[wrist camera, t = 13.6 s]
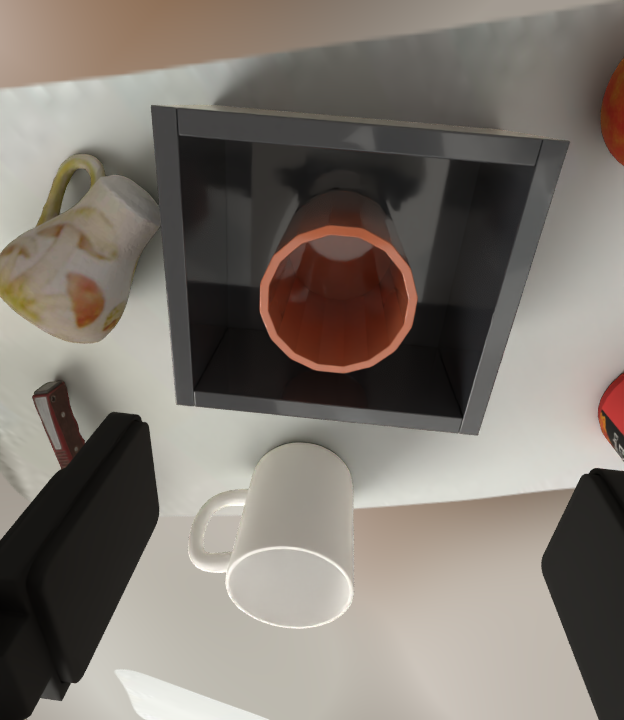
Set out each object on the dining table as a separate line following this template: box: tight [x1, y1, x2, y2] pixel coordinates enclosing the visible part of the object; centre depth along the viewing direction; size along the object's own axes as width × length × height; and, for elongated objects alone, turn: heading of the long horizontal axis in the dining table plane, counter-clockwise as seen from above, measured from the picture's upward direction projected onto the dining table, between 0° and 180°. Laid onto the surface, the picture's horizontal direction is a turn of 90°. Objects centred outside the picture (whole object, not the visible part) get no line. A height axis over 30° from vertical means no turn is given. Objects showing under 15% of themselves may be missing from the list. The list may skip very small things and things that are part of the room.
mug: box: [0, 154, 161, 344], centre depth 27 cm, size 8×10×10 cm
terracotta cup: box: [260, 190, 418, 373], centre depth 24 cm, size 7×7×9 cm
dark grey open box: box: [151, 105, 570, 435], centre depth 25 cm, size 16×14×9 cm
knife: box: [32, 381, 85, 469], centre depth 37 cm, size 17×1×5 cm, turn 9°
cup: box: [188, 442, 354, 628], centre depth 34 cm, size 8×12×10 cm
